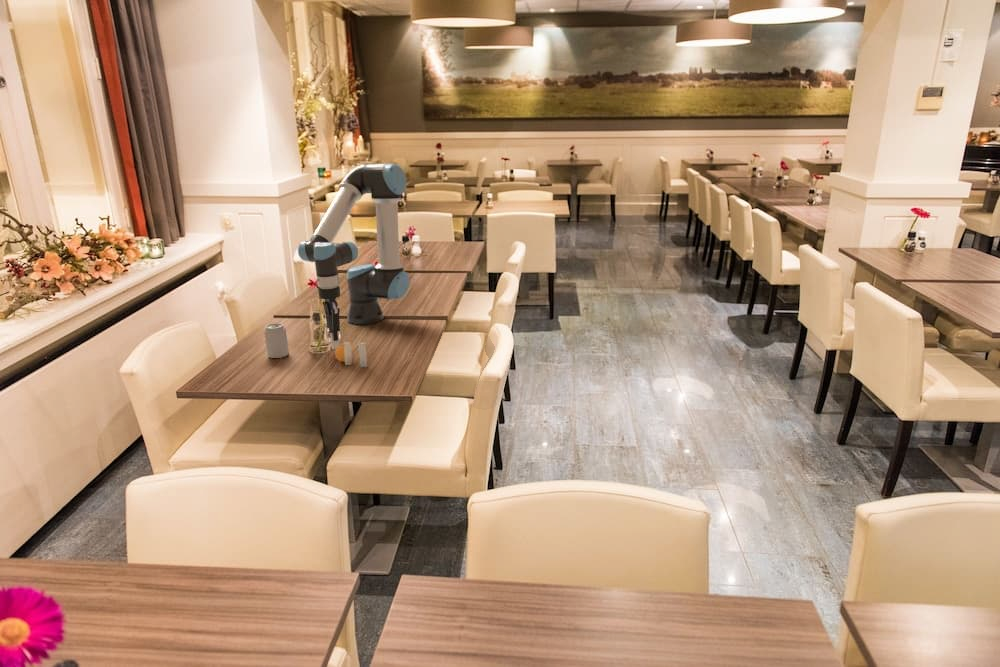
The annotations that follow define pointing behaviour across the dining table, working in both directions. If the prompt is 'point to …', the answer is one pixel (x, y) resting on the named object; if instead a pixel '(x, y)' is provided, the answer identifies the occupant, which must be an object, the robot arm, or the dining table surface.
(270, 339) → the can
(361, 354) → the pin
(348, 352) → the pin
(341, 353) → the ball
